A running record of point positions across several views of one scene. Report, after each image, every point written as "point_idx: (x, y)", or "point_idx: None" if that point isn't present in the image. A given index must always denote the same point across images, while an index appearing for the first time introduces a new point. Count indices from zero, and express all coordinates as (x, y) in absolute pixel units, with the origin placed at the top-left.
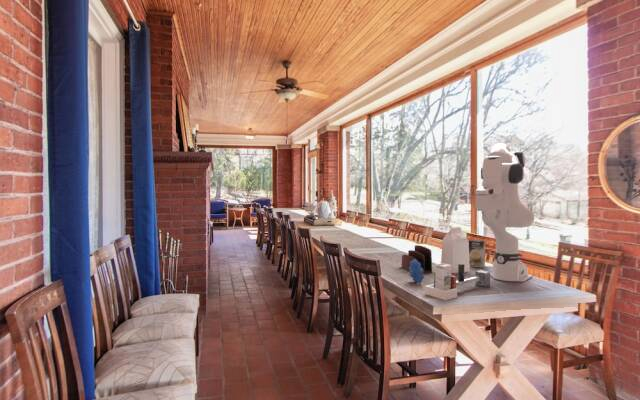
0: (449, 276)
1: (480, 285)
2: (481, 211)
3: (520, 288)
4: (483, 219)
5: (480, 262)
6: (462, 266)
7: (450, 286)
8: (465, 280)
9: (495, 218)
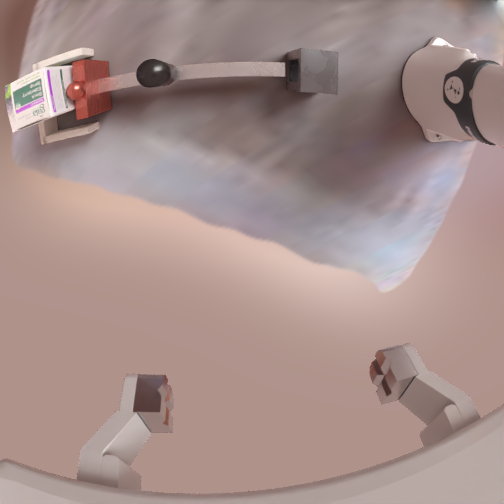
0: (63, 113)
1: (287, 72)
2: (78, 467)
3: (358, 170)
4: (126, 380)
5: None
6: (145, 86)
7: None
8: (184, 79)
9: (379, 356)
